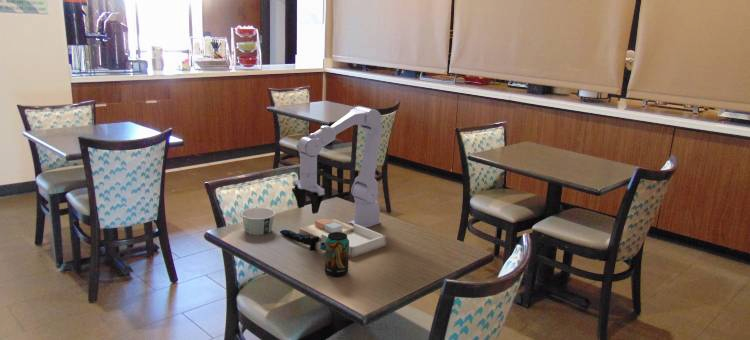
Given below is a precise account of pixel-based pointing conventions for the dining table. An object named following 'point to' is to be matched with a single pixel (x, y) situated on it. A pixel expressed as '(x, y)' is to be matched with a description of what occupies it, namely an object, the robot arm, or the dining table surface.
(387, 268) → the dining table surface
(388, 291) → the dining table surface
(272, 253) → the dining table surface
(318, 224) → the terracotta tile
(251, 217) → the food container
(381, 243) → the box
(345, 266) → the beverage can
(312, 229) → the birch plate
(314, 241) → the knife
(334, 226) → the blue tile
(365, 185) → the robot arm
